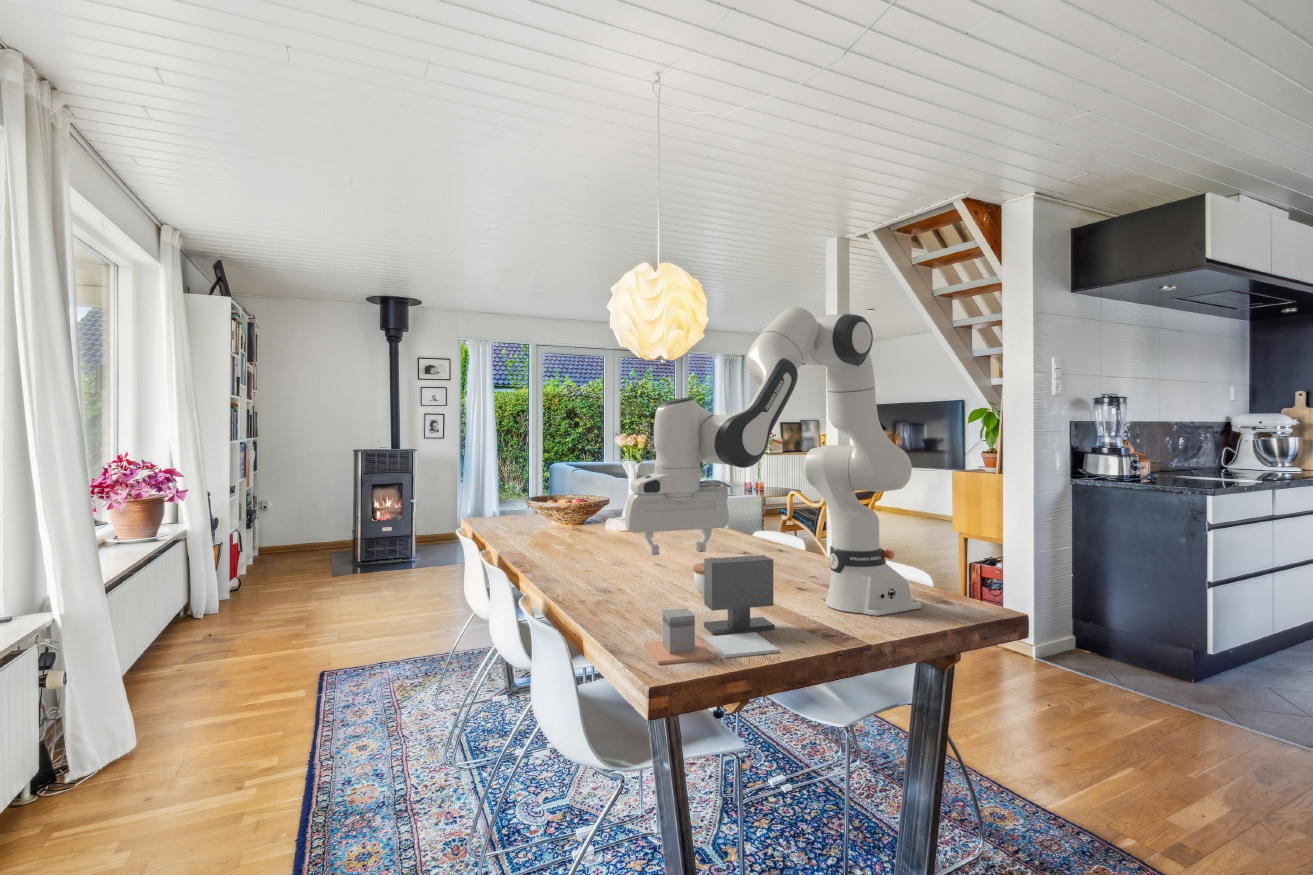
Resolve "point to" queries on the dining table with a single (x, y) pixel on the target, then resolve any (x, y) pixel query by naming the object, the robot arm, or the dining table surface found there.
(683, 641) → the cartridge
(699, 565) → the lidded jar
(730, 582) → the mounted unit
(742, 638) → the pale pad
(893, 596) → the robot arm
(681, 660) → the terracotta pad
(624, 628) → the dining table surface
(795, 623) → the dining table surface
